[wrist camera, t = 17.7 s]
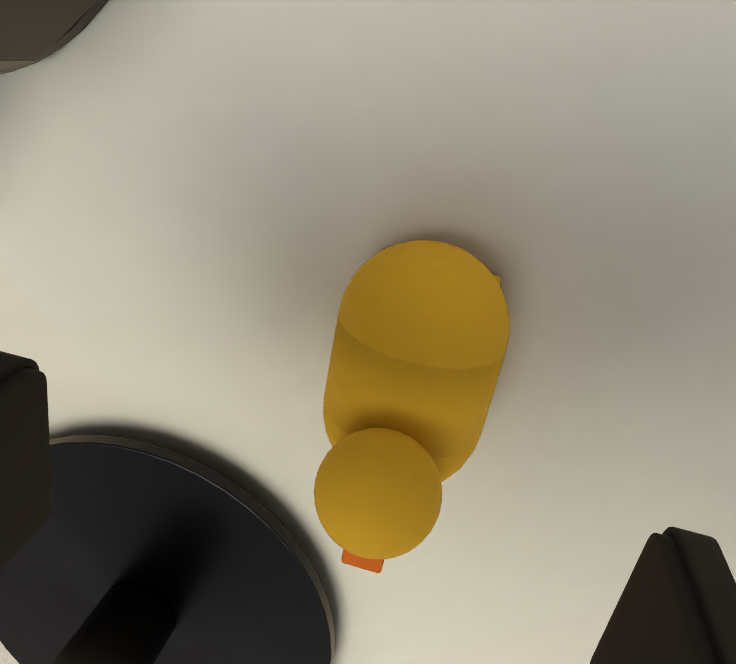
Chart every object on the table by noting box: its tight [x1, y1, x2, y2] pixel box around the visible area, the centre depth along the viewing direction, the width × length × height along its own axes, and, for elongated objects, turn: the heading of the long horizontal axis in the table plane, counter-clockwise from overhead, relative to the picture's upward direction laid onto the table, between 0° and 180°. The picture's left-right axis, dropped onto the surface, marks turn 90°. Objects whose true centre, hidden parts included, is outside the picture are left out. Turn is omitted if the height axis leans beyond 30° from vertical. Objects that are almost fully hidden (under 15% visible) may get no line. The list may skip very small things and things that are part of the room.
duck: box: [314, 240, 510, 573], centre depth 14 cm, size 7×4×6 cm, turn 170°
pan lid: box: [0, 435, 335, 664], centre depth 20 cm, size 13×13×6 cm
